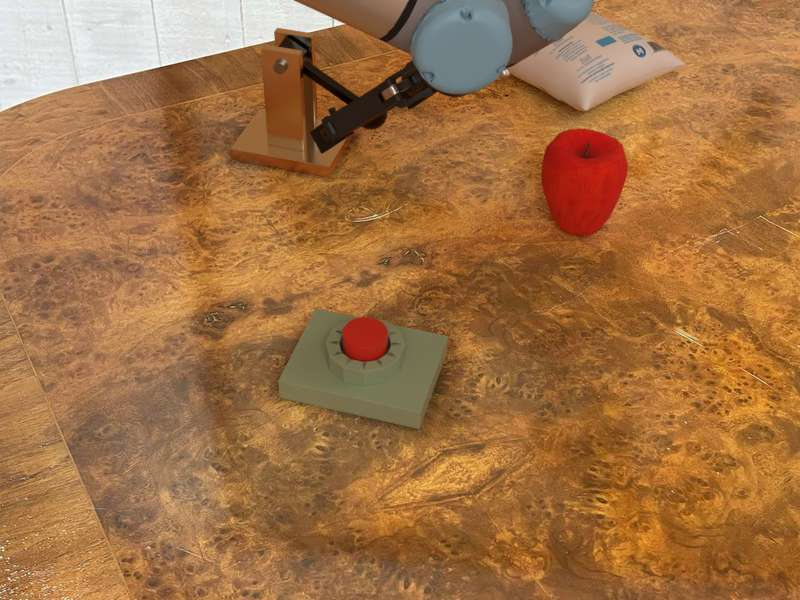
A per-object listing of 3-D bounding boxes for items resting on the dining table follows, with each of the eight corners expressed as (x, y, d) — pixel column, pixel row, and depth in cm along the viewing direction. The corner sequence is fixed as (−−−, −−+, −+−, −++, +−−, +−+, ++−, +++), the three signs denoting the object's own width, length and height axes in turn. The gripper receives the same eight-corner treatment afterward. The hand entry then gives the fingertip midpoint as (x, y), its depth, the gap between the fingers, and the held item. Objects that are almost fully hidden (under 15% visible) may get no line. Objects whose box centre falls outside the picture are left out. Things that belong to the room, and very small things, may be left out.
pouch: (693, 34, 132) (572, -27, 142) (590, 88, 122) (469, 19, 133) (680, 89, 137) (565, 26, 148) (580, 145, 128) (465, 74, 138)
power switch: (354, 135, 127) (353, 30, 118) (330, 177, 121) (326, 69, 112) (260, 119, 130) (251, 14, 120) (231, 159, 123) (220, 51, 114)
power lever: (381, 124, 122) (397, 103, 119) (372, 141, 119) (387, 120, 117) (276, 52, 119) (290, 29, 117) (265, 67, 117) (279, 44, 114)
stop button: (336, 356, 94) (336, 342, 93) (350, 327, 97) (350, 313, 96) (380, 366, 93) (380, 352, 92) (392, 336, 96) (393, 322, 95)
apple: (518, 214, 116) (528, 130, 109) (583, 192, 120) (596, 109, 112) (566, 260, 111) (580, 174, 103) (632, 236, 114) (650, 151, 107)
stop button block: (279, 397, 95) (276, 366, 93) (316, 324, 103) (314, 293, 100) (419, 429, 93) (421, 398, 90) (447, 352, 100) (449, 321, 97)
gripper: (394, 129, 97) (295, 192, 115) (567, 41, 110) (454, 109, 128) (354, 56, 96) (260, 130, 114) (533, -25, 110) (424, 53, 127)
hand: (362, 119), depth 121 cm, fingers open, 13 cm apart
